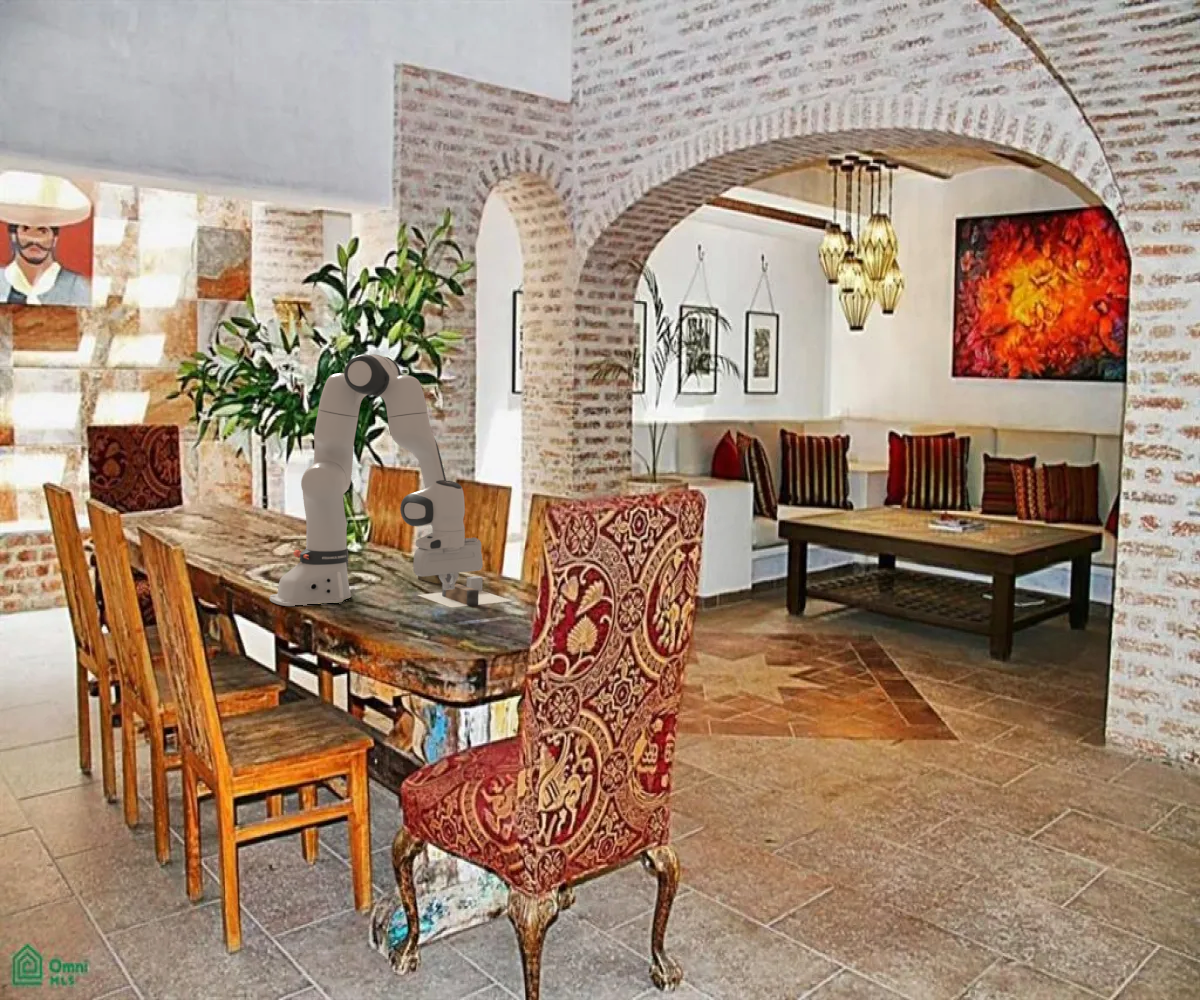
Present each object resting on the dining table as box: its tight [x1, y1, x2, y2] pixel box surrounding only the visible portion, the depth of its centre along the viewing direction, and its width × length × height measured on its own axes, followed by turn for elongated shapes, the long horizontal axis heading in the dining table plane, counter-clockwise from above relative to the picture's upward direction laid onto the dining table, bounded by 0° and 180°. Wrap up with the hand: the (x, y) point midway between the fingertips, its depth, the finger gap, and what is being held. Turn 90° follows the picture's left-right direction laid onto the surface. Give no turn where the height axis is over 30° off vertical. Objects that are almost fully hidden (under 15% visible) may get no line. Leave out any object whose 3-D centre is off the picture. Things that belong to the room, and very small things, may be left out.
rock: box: [417, 575, 442, 585], centre depth 347 cm, size 11×9×10 cm
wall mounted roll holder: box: [417, 574, 513, 608], centre depth 321 cm, size 20×20×8 cm
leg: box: [446, 582, 479, 607], centre depth 316 cm, size 14×3×4 cm, turn 37°
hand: (448, 589), depth 310 cm, fingers closed
